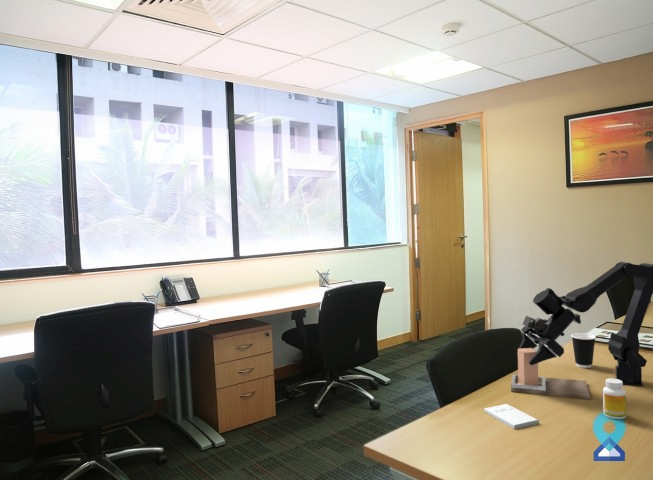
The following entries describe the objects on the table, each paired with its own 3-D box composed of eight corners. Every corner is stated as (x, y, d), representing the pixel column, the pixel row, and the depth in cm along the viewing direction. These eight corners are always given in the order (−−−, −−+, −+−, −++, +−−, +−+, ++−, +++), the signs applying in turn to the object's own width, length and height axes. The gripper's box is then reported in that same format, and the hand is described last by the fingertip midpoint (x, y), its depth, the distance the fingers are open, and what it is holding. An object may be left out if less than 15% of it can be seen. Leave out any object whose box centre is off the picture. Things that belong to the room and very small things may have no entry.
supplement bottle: (629, 420, 129) (629, 384, 129) (607, 419, 130) (606, 383, 130) (621, 412, 134) (621, 377, 134) (600, 411, 136) (599, 377, 135)
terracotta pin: (532, 381, 158) (531, 348, 157) (538, 386, 153) (537, 351, 153) (518, 381, 158) (517, 348, 157) (524, 386, 153) (523, 352, 153)
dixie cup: (600, 369, 170) (600, 338, 169) (577, 369, 170) (577, 338, 170) (589, 362, 178) (589, 332, 177) (567, 362, 178) (567, 333, 178)
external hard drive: (514, 431, 127) (483, 413, 138) (539, 425, 129) (507, 408, 141) (514, 425, 127) (483, 407, 138) (539, 419, 129) (507, 403, 141)
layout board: (585, 383, 157) (585, 377, 157) (590, 399, 144) (589, 392, 144) (513, 377, 166) (512, 370, 165) (511, 391, 153) (510, 384, 153)
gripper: (526, 302, 164) (494, 336, 164) (553, 313, 145) (517, 351, 146) (549, 324, 165) (518, 357, 165) (579, 337, 146) (544, 375, 146)
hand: (523, 359), depth 155 cm, fingers open, 9 cm apart
